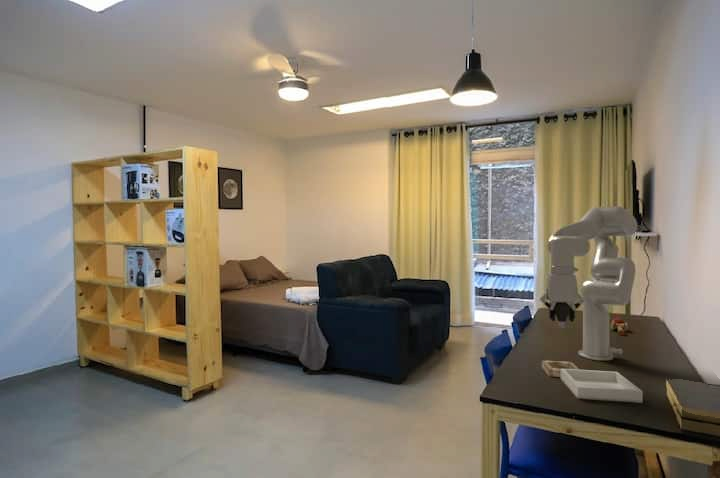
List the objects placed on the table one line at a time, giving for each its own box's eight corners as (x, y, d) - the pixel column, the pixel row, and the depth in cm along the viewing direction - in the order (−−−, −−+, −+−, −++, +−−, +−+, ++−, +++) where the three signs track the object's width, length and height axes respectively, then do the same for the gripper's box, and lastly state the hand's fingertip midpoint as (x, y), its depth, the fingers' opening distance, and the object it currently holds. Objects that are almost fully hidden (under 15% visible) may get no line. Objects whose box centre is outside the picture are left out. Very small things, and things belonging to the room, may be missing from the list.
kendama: (632, 339, 208) (626, 326, 225) (630, 326, 208) (624, 315, 224) (614, 340, 212) (610, 328, 228) (612, 328, 211) (608, 316, 228)
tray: (616, 382, 144) (617, 371, 144) (642, 402, 126) (642, 391, 126) (560, 378, 147) (560, 368, 147) (577, 398, 129) (577, 387, 129)
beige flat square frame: (571, 368, 158) (571, 362, 158) (580, 378, 147) (581, 371, 147) (542, 366, 159) (542, 360, 159) (549, 376, 149) (549, 369, 149)
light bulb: (550, 326, 156) (550, 300, 156) (564, 326, 156) (564, 299, 156) (558, 330, 150) (558, 302, 150) (573, 330, 151) (573, 302, 151)
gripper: (584, 270, 155) (583, 319, 156) (534, 269, 158) (534, 317, 159) (591, 272, 148) (591, 323, 148) (539, 271, 151) (539, 322, 151)
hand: (561, 320), depth 153 cm, fingers closed on light bulb, 5 cm apart
